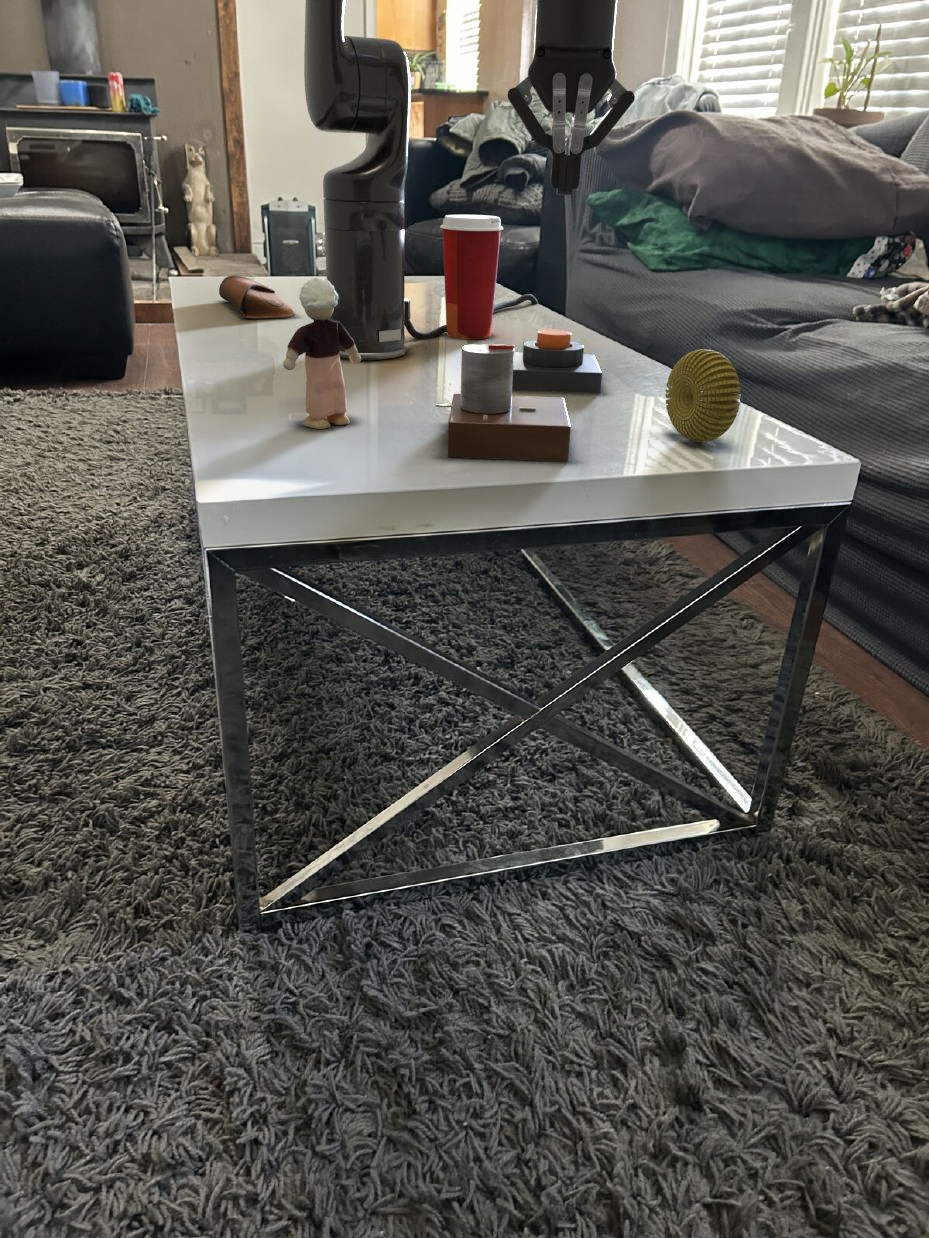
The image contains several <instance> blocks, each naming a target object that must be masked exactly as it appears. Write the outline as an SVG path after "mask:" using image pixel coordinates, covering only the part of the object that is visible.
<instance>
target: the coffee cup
mask: <svg viewBox="0 0 929 1238" xmlns="http://www.w3.org/2000/svg"><path fill="white" fill-rule="evenodd" d="M501 223H502V221H501V217H500V216H496V215H486V214H485V215H484V214H446V215H445V216H444V218H443V220H442V224H441V225H439V227H440V229H442V244H443V246H442V247H443V248H442V249H443V275H444V276H443V277H444V301H445V302H444V303H445V322H446V323H445V325H447V332H446V336H447V337H450V338H454V339H459V340H483V339H488V338H490V337H491V336H492V335H491V334H492V328H493V318H494V312H493V309H494V304H495V297H496V287H497V277H498V276H497V275H498V265H499V254H500V244H501V233H502V231H503V230H504V226H502V224H501Z"/></svg>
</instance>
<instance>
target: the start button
mask: <svg viewBox="0 0 929 1238" xmlns="http://www.w3.org/2000/svg"><path fill="white" fill-rule="evenodd" d="M571 335H572V332H570V331H568V330H565V329H557V328H556V329H555V328H550V329H549V328H547V329H546V328H545V329H540V330H539V329H538V331H537V335H536V336H537V337H536V340H537V346H538V347H543V348H552V349H563V348H570V341H571V338H572V336H571Z"/></svg>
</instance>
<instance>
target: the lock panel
mask: <svg viewBox="0 0 929 1238" xmlns="http://www.w3.org/2000/svg"><path fill="white" fill-rule="evenodd" d="M460 400H461V393H453V396H452V401H451V404H449V403H444V404H443V403H436V404H435V407H436V408H450V411H449V416H448V420H447V421H448V422H447V425H448V426H447V458H459V459H484V460H485V459H487V460H511V461H512V460H513V461H537V462H539V461H540V462H541V461H542V462H569V456H570V455H569V454H570V443H571V429H572V427H571V422H570V419H569V414H568V411H567V405H566V402H565V398H564V397H561V396H559V397H558V396H557V397H556V396H531V395H512V405H511V410H509V411H507V412H504V413H497V414H481V413H473V412H469V411H465V410H463V409H462V408H461V407H460Z"/></svg>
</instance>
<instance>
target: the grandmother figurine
mask: <svg viewBox="0 0 929 1238" xmlns="http://www.w3.org/2000/svg"><path fill="white" fill-rule="evenodd" d="M299 292H300V293H299V294H298V296H299V297H298V299H299V301H300V305H301V306H302V308H303V309H304V313H305V314H306V316H307V317H308V318H309V319H310V320H313V321H312V322H310V323H307V324H305V325H302V326H300V327H299V328H297V330H296V331H295V332H294V334H293V335H292V337H291V338H290V341H288V344H287V351H286V353H285V359H284V360H283V363H282V366H283V369H285V370H287V371H293V370H294V369H295V368H296V362H297V361H298V359H299V357H300V356H302V355H303V354H304V368H305V377H306V381H305V382H306V383H305V412H306V414H308V415H307V416H306V417H305V419H304V420H303V422H302V423H303V426H305V427H308V428H312V429H315V430H316V429H317V430H324V429H329V428H331V424H333V425H336V426H342V425H349V424H350V423H351V421H350V419H349V417H348V415H347V412H348V407H347V406H348V405H347V392H346V385H345V384H346V383H345V379H344V373H343V368H342V362H341V357H340V355H339V346H340V347H342V348H344V349H345V351H346V353H347V355H348V356H349V357H350V359H349V361H350V363H351V364H353V365H358V364H360V363H361V361H362V360H361V357H360V355H359V354H358V353H357V348H356V346H355V343H354V340H353V339H352V337H351V336H350V335H349V333H348V332H347V331H346V329H345V328H344V327H343V326H342V324H341V323H340V322H338V321H333V320H328V319H329V318H330V316H331V315H332V313H333V310H334V307H335V306H336V305H338V303H337V299H338V294H337V292H336V291H335V290H334V286H333V285H332V284H331V283H330V282H329V281H328V280H327V278H322V277H314V278H311V279H309V280H308V281H307V282H305V283H303V284H302V286H301V288H300V291H299Z"/></svg>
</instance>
